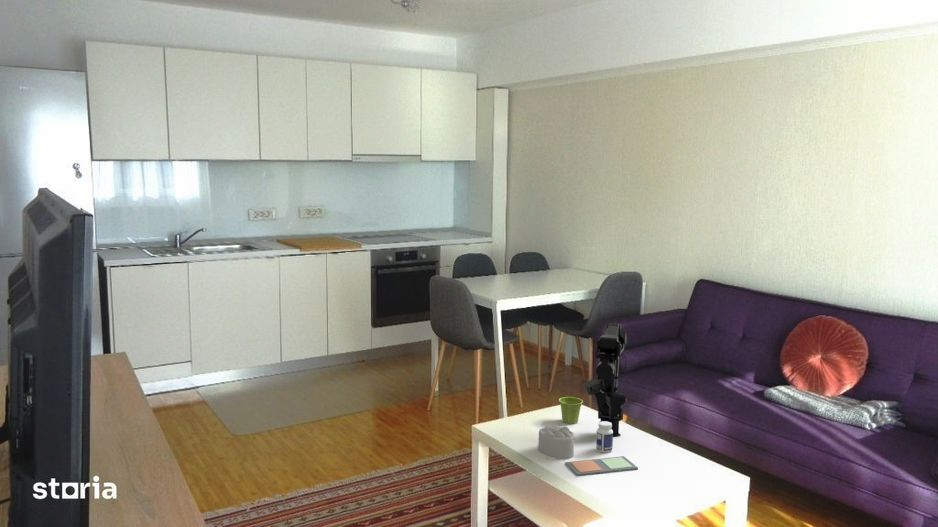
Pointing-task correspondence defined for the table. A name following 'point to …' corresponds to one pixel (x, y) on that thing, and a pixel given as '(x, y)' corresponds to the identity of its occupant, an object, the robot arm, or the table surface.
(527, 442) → the table surface
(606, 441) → the pill bottle
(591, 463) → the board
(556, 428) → the lumpy-topped squat cylinder
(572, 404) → the plant pot
